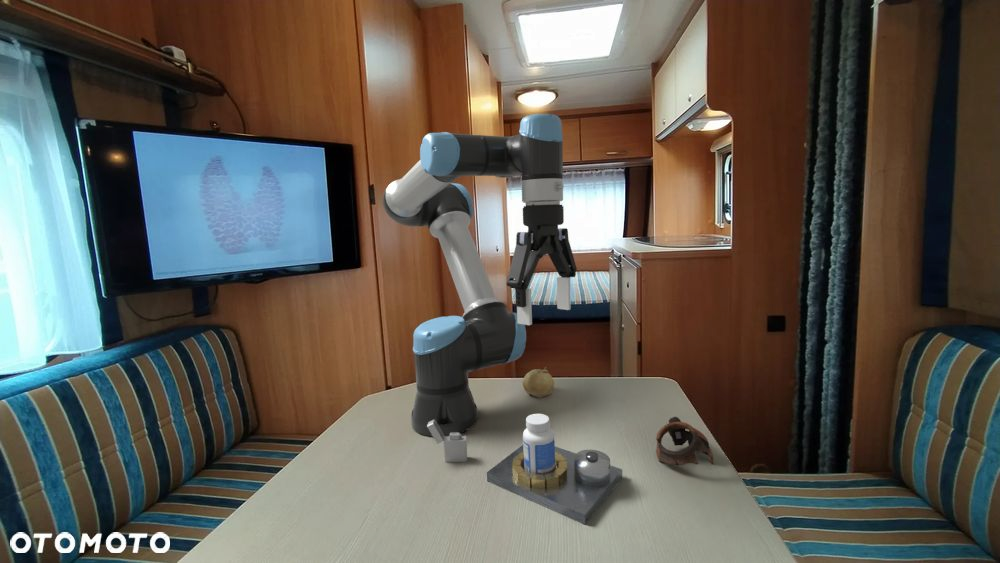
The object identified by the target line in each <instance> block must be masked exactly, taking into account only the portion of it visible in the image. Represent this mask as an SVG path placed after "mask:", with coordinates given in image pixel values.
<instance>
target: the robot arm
mask: <svg viewBox="0 0 1000 563" xmlns="http://www.w3.org/2000/svg"><path fill="white" fill-rule="evenodd" d="M562 125H563V124H562V120H561V118H560V117H559V116H558V115H556V114H550V113H535V114H531V115H526V116H524V117H523V118H522V119H521V120H520V125H519V132H518V134H515V135H512V136H501V135H481V134H469V133H468V134H467V133H454V132H453V133H452V132H447V131H442V132H429V133H427V134H426V135H424V137H423V138H422V142H421V145H420V148H419V150H420V151H419V157H420V160H418V161H417V162H416V163H415V165H413V166H412V168H411V169H409V171H408V172H407V173H406V174H405V175H404V176H402V178H400V179H399V178H398V179H396V180H394V181H392V182H391V183H390V184H389V185H388V186H387V187H385V190H384V192H383V193H382V194H383V195H382V206H383V209H384V212H385V213H386V214H387V216H388V217H389V218H390V219H391V220H393V221H394V222H395V223H398V224H399V225H402V226H406V227H428V231H429V233H430V234H431V236H432V237H433V238H436V239H438V241H439V244H440V247H441V251H442V253H443V255H444V258H445V261H446V265H447V266H448V270H449V272H450V275H451V278H452V280H453V283H454V287H455V288H456V292H457V294H458V297H459V300H460V303H461V305H462V308H463V311H464V313H462V316H459V315H448V316H439V317H435V318H432V319H428V320H427V321H424V322H422V323H421V324H419V325H418V326H417V327H416V328H415V329H414V331H413V335H412V338H413V346H412V351H413V356H414V367H415V370H414V371H415V381H416V394H415V399H414V405H413V409H412V411H411V413H410V420H411V427H412V429H413V430H414V431H415V432H416V433H418V434H420V435H423V436H429V437H433V436H432V434H431V432H430V431H429V429H428V427H427V424H428V422H430V421H432V420H434V419H435V421H436V422H437V424H438V426H439V427H440V429H441V431H442V432H443V434H444V436H445V437H449V435H450V433H458V432H459V433H460V434H461V433H464V432H465V431H468V430H470V429H471V428H472V427H474V426H475V425H476V424H477V423H478V420H479V413H478V412H479V411H478V406H477V404H476V402H475V400H474V396H473V393H472V391H471V388H470V385H469V373H471V372H476V371H479V370H484V369H487V368H491V367H496V366H500V365H503V366H504V365H506V364H508V363H510V362H515V361H516V360H519V359H520V358H521V357H522V355H523V354H524V351H525V349H526V342H527V330H526V326H531V325H533V313H532V309H533V308H532V305H533V304H532V288H528V287H529V286H530V283H531V280H532V279H533V276H534V274H535V271H536V269H537V265H538V263H539V261H540V259H542V258H543V257H544V256H546V255H547V256H549V258H550V260H551V262H552V264H553V266H554V268H555V270H556V272H557V273H558V275H559V276H557V277H556V305H557V310H558V309H559V310H565V311H571V308H572V307H571V306H572V305H571V304H572V303H571V278H575V277H576V273H577V270H578V269H577V266H576V261H575V258H574V254H573V251H572V247H571V243H570V240H569V230H568V228H566V227H565V228H563V227H561V228H559V226H561V225H563V224H564V220H565V219H564V213H565V212H564V209H565V208H564V205H563V204H561V202H563V200H564V187H565V185H564V182H563V180H564V179H563V178H564V176H563V175H564V157H563V155H564V154H563V152H564V148H563V146H564V145H563V144H564V143H563V142H564V137H563V129H562V128H563V126H562ZM519 175H521V202H522V203H525V205H524V206H523V207H522V225H523V226H525V227H527V228H528V230H527V231H523V232H522V231H517V233H516V238H515V240H516V241H515V247H514V253H513V256H512V260H511V264H510V267H509V272H508V276H507V279H506V286H507V287H510V289H514V290H515V305H516V306H515V307H516V312H514V311H509V309H508V307H507V305H506V303H505V302H504V301H502V300H500V299H498V298H497V297H496V293H495V291H494V289H493V286H492V284H491V282H490V279H489V276H488V274H487V272H486V268H485V267H484V264H483V261H482V259H481V256H480V254H479V251H478V249H477V246H476V244H475V242H474V238H473V237H472V235H471V232H470V229H469V226H471V225H470V224H471V222H472V221H471V220H472V219H473V215H474V206H473V205H472V204H473V200H472V196H471V194H470V192H469V190H468V189H467V188H466V187H465V186H464V185H463V184H461V183H454V182H455V181H456V180H458V179H459V178H461V177H463V176H464V177H465V176H466V177H470V176H471V177H479V176H480V177H481V176H482V177H496V178H502V179H503V178H508V179H510V178H512V177H514V176H519Z"/></svg>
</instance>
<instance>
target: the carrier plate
mask: <svg viewBox="0 0 1000 563" xmlns="http://www.w3.org/2000/svg"><path fill="white" fill-rule="evenodd" d="M622 479H623V468H620V467H616V466H613V465H611V459H610V456H608V454H606V453H604V452H603V451H600V450H596V449H582V450H579V451H577V452H573V451H569V450H567V449H564V448H561V447H558V446H556V445H555V471H554V472H552V473H549V474H545V475H535V474H531V473H529V472H526V471H525V467H524V448H523V444H521V445H520V446H519V447H518V448H517V449H515V450H514V451H513V452H511V453H510V454H509V455H507V456H506V457H505V458H503V459H502V460H501V461H499V462H497V464H495V466H493V467H492V468H491V469H489V470H488V471H487V472H486V481H487V482H489V483H492V484H494V485H496V486H498V487H500V488H503V489H505V490H507V491H509V492H512V493H514V494H516V495H517V496H520V497H523V498H524V499H527V500H529V501H531V502H533V503H536V504H538V505H541V506H543V507H545V508H547V509H550V510H551V511H554V512H557V513H558V514H560V515H563V516H564V517H567V518H568V519H569V518H570V519H572V520H574V521H576V522H577V523H578V522H579V523H581V524H583V525H586V524H587V523H588V522H589V521H590V520H591V518H592V516H593V515H594V514H595V513H596V512H597V511H598V509H599V507H601V505H602V504H603V503H604V501H605V500H606V499H607V498H608V497H609V496H610V494H611V493H612V492H613V490H614V489H615V488H616V486H617V485H618V484H619V483H620V482H621V480H622Z"/></svg>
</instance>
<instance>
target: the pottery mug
mask: <svg viewBox="0 0 1000 563" xmlns="http://www.w3.org/2000/svg"><path fill="white" fill-rule="evenodd" d="M667 433H668V435H669V436H670V437H671V440H672V442H673V445H674V446H684V444H686V443H687V442H688V446H687V447H685V448H683V449H680V450H670V449H667V448H666V447H664V446H663V445H662V439H663V438H664V436H665V435H666V434H667ZM655 439H656V440H655V441H656V449H655V453H656V457H657V460H658V462H659V463H665V464H666V465H667V464H668V465H670V466H675V467H677V466H678V465H679V466H684V465H688V464H695V465H699V462H698V458H697V454H696V452H697V453H700V454H704V455H706V457H708V459H709V461H710V464H711V465H713V466H714V465H715V462H714V454H713V452H712V449H711V447H710V443H709V440H708V438H707V437H706V436H705V435H704V434H703V433H702V432H701V431H700V430H698V429H697V428H695V427H693V426H692V425H691V424H689V423H688V422H687V423H686V422H684V421H681V419H680V418H679V417H677V416H673V417H670V419H669V420H668V424H665V425H664V426H662V427H661V428H660V429H659V431H658V432H657V434H656V438H655Z"/></svg>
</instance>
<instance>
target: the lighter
mask: <svg viewBox="0 0 1000 563" xmlns="http://www.w3.org/2000/svg"><path fill="white" fill-rule="evenodd" d="M427 427H428V429H429V431H430V432H431V434H432V436H431V437H433V439H434V440H435V442H436V444H440V443H442V442H443V451H444V453H443V454H444V462H445V463H460V462H461V463H463V462H467V461H468V446H467V443H468V442H467V436H466V435H462V434H461V433H459V432H458V433H450V435H449V436H444V434H443V432H442V431H441V429H440V427H439V426H438V424H437V422H436V421H435V419H434V420H432V421H430V422H428V424H427Z"/></svg>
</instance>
